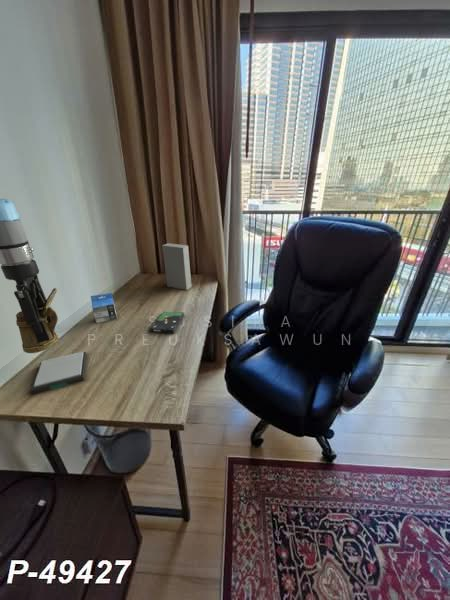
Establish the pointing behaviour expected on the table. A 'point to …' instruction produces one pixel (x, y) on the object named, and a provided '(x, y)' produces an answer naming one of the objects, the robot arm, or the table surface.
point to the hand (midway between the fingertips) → (46, 333)
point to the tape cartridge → (103, 307)
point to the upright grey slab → (177, 266)
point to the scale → (60, 372)
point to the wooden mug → (28, 333)
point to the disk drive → (167, 322)
